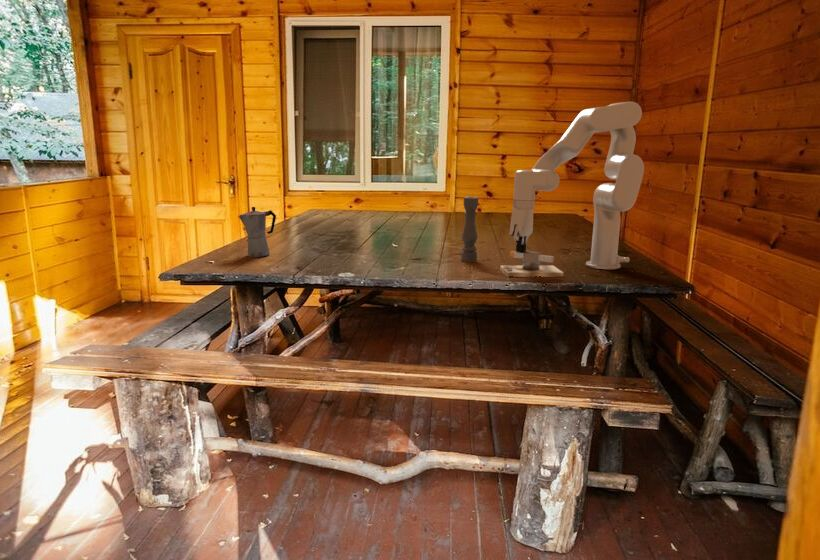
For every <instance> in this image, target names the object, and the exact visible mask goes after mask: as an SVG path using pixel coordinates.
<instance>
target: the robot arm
mask: <svg viewBox="0 0 820 560" xmlns="http://www.w3.org/2000/svg"><path fill="white" fill-rule="evenodd" d="M642 116H643V110H642V107H641V106H640V105H639V103H637V102H635V101H623V102H614V103H611V104H610V103H609V105H605V106H597V107H589V108H585V109H583V110H581V111H580V112H579V113H578V114H577V116H576V117H575V118H574V120H573V121H572V122H571V124H570V125H569V126H568V128H567V129H566V131H565V132H564V133H563V135H562V136H561V137H560V139H559V140H558V141H556V143H555V144H553V146H551V147H550V148H549V149H548V150H547V151H546V152H544V154H543V155H542V156H541V157H540V158H539V159H538V160H537V162H536V163H535V164H534V165H533V167H532V168H531V169H518V170H516V171H515V173H514V180H513V181H514V183H513V184H514V185H513V200H512V211H511V212H512V213H511V216H510V218H511V219H510V226H509V235H510V237H511V236H512V237H513V241H515V244H516V245H515V247H516V248H515V251H516V252H525V251H527V244H528V239H529V238H530V235H532V233H533V230H534V209H535V199H536V191H542V192H544V191H545V192H551V191H553V190H556V189H557V188H558V186H559V184H560V181H561V180H560V176H559V174H558V173H557V172H556V170H557V168H559V167H560V166H561V165H562V164H563V163H566V162H568V161H570V160H572V159H573V158H575V157H577V156H578V155H579V154H580V152H582V150H583V149H584V148H585V146H586V144H587V143H588V142H589V141H590V139H591V138H592V137H593V135H594V134H595V133H605V132H609V134H610V144H609V149H608V153H607V156H606V160H605V164H604V169H603V171H604V174H605V176H606V177H607V178H608V179H610V180H615V183H613V182H604V183H601V184H600V185H599V186H597V187H596V189H595V190H594V193H593V198H592V202H593V203H592V204H593V212H594V214H593V226H592V236H591V238H592V239H591V250H590V260H587V261H586V262H585V266H586V267H588V268H592V269H597V270H600V269H601V270H617V269H620V268H621V264H622V263H629V262H630V257H629V256H620V255H619V254H618V251H619V238H620V229H621V212H626V211H629V210H630V209H631V208H632V207H634V205H635V203H636V201H637V198H638V195H639V191H640V188H641V186H642V181H643V178H644V173H645V165H644V162H643V159H642V158H641V157H640V156H639V155H637V154H634V151H635V147H636V142H637V139H636V138H637V135H636V131H635V128H634V126H636V125H637V124H638V123H639V122H640V121H641V119H642Z"/></svg>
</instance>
